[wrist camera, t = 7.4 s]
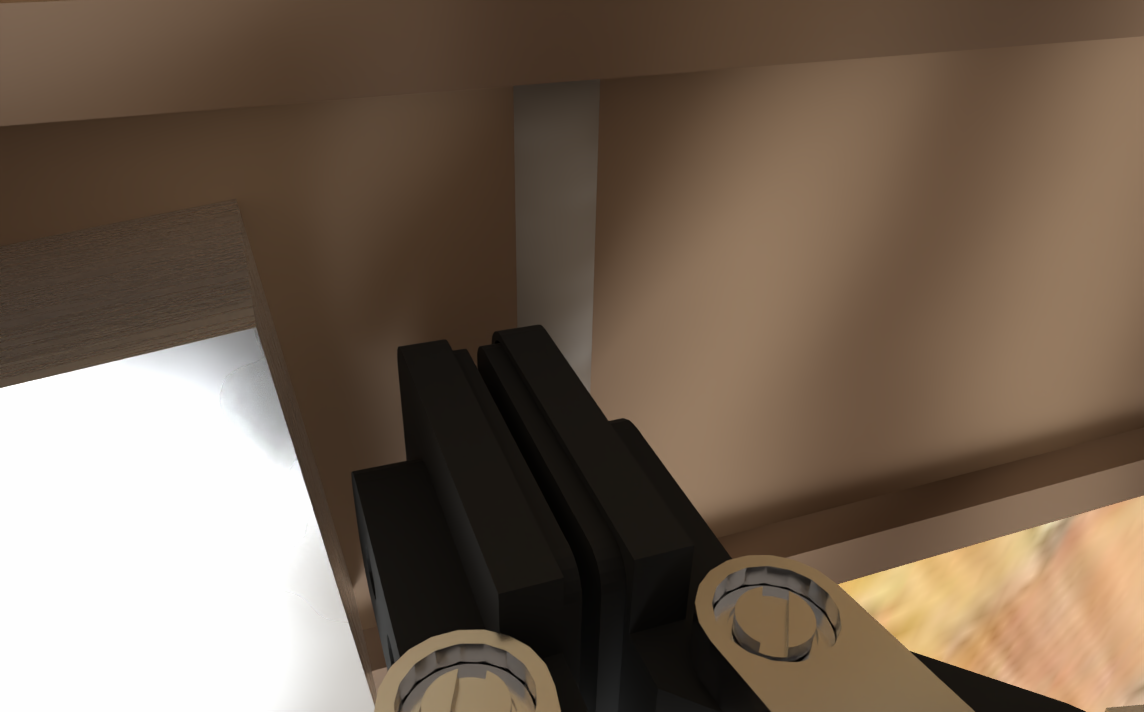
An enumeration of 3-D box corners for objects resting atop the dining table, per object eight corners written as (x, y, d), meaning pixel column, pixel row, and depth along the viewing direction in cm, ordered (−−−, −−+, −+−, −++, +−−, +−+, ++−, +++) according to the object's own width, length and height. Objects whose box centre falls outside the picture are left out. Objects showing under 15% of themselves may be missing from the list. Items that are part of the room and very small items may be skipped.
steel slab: (236, 198, 10) (255, 327, 7) (353, 588, 13) (393, 766, 11) (-449, 337, 8) (-708, 557, 6) (-121, 739, 11) (-200, 989, 9)
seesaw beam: (1274, -72, 15) (1487, -50, 12) (1086, 426, 20) (1211, 510, 18) (-1132, 1, 7) (-1845, 107, 4) (-411, 803, 12) (-557, 1054, 10)
